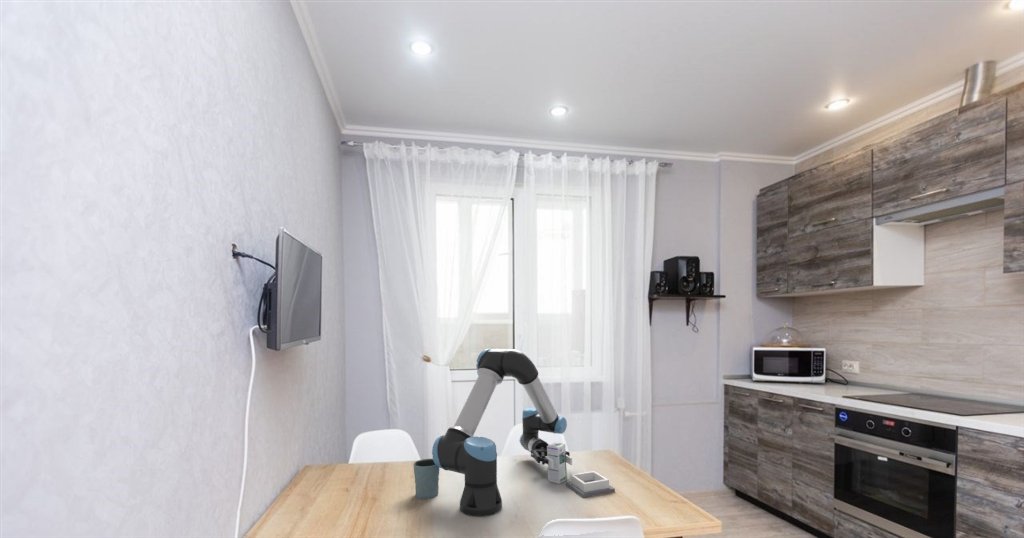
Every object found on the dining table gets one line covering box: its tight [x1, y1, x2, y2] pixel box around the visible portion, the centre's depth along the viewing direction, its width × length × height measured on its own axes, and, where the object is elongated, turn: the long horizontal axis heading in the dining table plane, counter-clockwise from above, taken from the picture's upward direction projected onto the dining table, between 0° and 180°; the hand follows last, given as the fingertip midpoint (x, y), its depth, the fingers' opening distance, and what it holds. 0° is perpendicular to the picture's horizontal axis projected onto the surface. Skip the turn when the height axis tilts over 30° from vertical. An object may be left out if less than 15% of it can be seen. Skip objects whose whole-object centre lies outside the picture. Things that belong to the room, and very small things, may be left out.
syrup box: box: [547, 442, 568, 485], centre depth 187 cm, size 6×6×14 cm
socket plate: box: [565, 470, 616, 498], centre depth 177 cm, size 14×14×4 cm
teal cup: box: [413, 458, 440, 500], centre depth 174 cm, size 10×10×12 cm
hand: (562, 462), depth 182 cm, fingers closed on syrup box, 8 cm apart
